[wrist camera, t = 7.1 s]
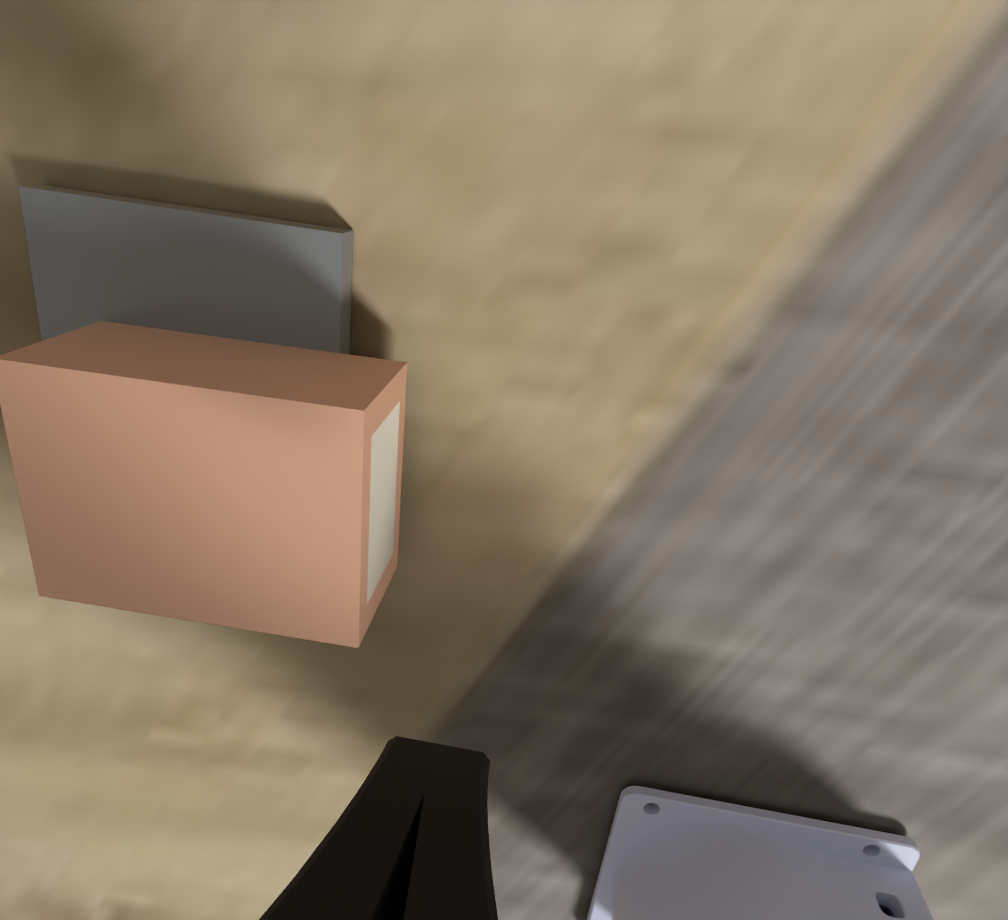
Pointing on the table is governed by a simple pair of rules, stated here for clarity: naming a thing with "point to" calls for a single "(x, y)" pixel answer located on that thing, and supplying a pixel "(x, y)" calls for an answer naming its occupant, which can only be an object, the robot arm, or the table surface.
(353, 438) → the block
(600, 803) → the table surface
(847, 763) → the table surface
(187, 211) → the board
